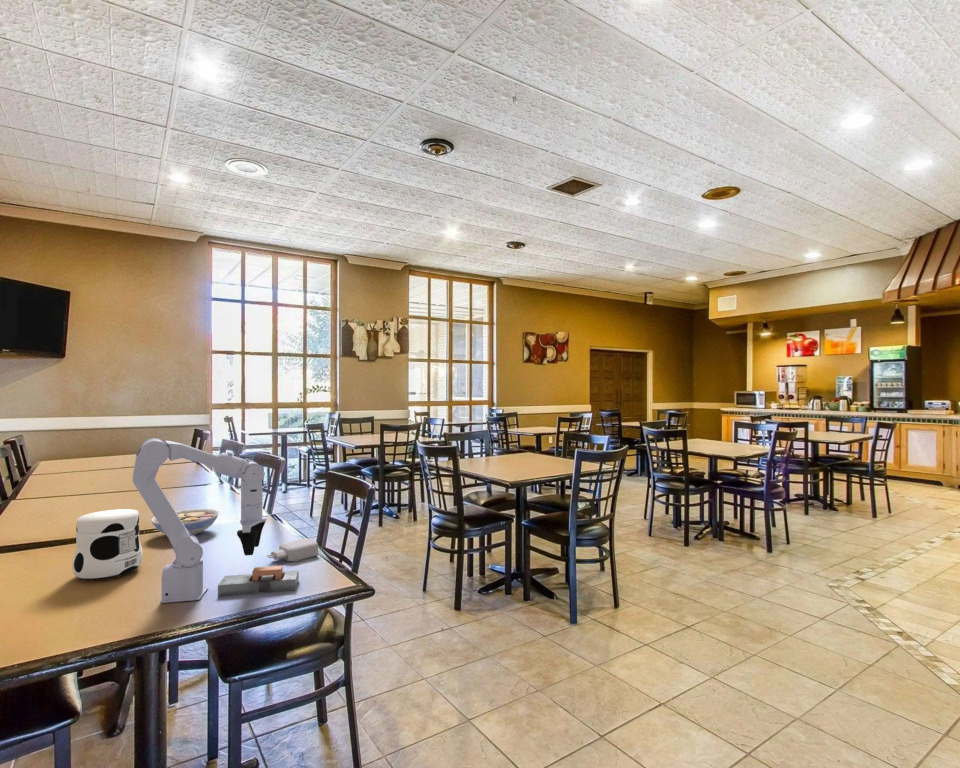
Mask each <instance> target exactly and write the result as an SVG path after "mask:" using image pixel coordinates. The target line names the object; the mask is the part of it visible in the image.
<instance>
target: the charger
mask: <svg viewBox="0 0 960 768" xmlns="http://www.w3.org/2000/svg"><path fill="white" fill-rule="evenodd" d="M278 547H279V548H278V550H272V551H271V552H270V554H267V555H266V557H267V558H269V559H273V560H275V561H278V560H281V559H283V560H285V561H286V560H287V562H289V561H295V562H298V561H297V560H299V561H302V559H303V560H307V559H310V557H311V558H314V556H315V557H318V556H319V543H318V542H317V541H315V540H313V539H311V538H308V537H305V538H300V539H299V538H298V539H296V540H295V539H294V540H291V541H287V542H283V543H280V544H279V546H278ZM306 558H307V559H306Z"/></svg>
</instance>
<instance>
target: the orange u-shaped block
mask: <svg viewBox="0 0 960 768" xmlns="http://www.w3.org/2000/svg"><path fill="white" fill-rule="evenodd" d="M283 568H284V567H283V565H273V566H258V567H254V568H253V570H252V573H251V574H252V581H259V580H260V576H268V575H275V579H283V572H284V571H283Z"/></svg>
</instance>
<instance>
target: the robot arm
mask: <svg viewBox="0 0 960 768" xmlns="http://www.w3.org/2000/svg"><path fill="white" fill-rule="evenodd" d="M233 454H234V453H233V452H230V451H228V452H227V453H226V452H221V453H219V454H213V453H210V452H207V451H204V450H201V449H198V448H196V447H193V446H190V445H187V444H184V443H181V442H176V441H173V440H162V439H161V438H157V437H151V438H147V439H146V440H144V441H143V442H142V443H141V444H140V446H139V448H138V450H137V452H136V454H135V461H134V467H133V473H132V482H133V484H134V486H135V488H136V489H137V491H138V492H139V494H140V495H141V496H140V497H142V499H143V501H144V502H145V504H146V505H147V506H148V508H149V510H150V511H151V513H152V515H153V516H154V517H155V518H156V519H157V521H158V522H159V524H160V526H161V527H162V529H163V530H164V532H165V533H166V534H165V535H166V537H167V538H168V540H169V542H170V544H171V546H172V548H173V552H174V554H175V559H174V561H172V563H171V564H166V565H164V567H163V569H162V573H161V600H160V604H165V603H166V604H167V603H177V602H189V601H192V602H193V601H199V600H201V598H202V597H203V596H204V595H205V593H206V592H207V591H208V590H209V588H208V586H206V587H205V586H204V577H203V576H204V559H203V555H204V550H203V547H202V546H201V544H200V540H199V538H198V537H197V536H196V535H194V536H193V535H191V534H190V533H189V532H188V530H187V529H186V527H185V526H184V524H183V523H182V521H181V520H180V518H179V516H178V515H177V513H176V512H175V511H176V509H175V508H174V507H173V506H172V504H171V502H170V500H169V499H168V497H167V495H166V494H165V492H164V491H163V490H162V488H161V485H159V482H158V481H157V479H156V476H157V474H158V472H159V469H160V468H161V466H163V464H164V463H165V462H166V461H167V459H169V462H170V461H175V460H180V459H184V460H189V461H192V462H194V463H200V464H203V465H207V466H210V467H212V470H213V472H214V473H215V474H216V473H217V474H221V475H224V476H227V477H230V478H233V479H237V480H239V479H241V488H240V520H239V523H240V525H241V528H242V529H238V530H237V531H236V536H237V537H238V538H239V541H240V543H241V545H242V547H241V548H242V551H243V554H244V556H253V554H254V552H255V548H258V547H259V545H260V541H261V536H262V532H263V529H264V526H265V524H266V523H267V521H268V518H267V517H266V516H263V480H264V478H265V476H266V475H265V473H266V472H265V470H264V468H263V466H261V465H260V464H259V463H258V462H255V461H253V460H250V458H246V457H245V458H241V457H238V456H235V455H233Z"/></svg>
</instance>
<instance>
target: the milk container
mask: <svg viewBox="0 0 960 768" xmlns="http://www.w3.org/2000/svg"><path fill="white" fill-rule="evenodd" d="M75 531H76V532H75V533H76V534H75V539H76V540H75V541H76V544H75V545H76V546H75V547H76V548H75V552H74V555H73V558H72V562H71V563H72V571H73V575H74V577H76V578H77V579H79V580H83V581H102V580H104V581H105V580H109V579H115V578H118V577H122V576H125V575H127V574H130V573H132V572H134V571H135V570H137V569H138V568H139V567H140V566H141V564H142V561H143V557H144V555H143V554H144V553H143V547H142V544H141V540H140V515H139V510H137V509H130V508H126V509H125V508H120V509H108V510H100V511H95V512H90V513H87V514H83V515H81V516H79V517H78V518H77V520H76V527H75Z"/></svg>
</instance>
